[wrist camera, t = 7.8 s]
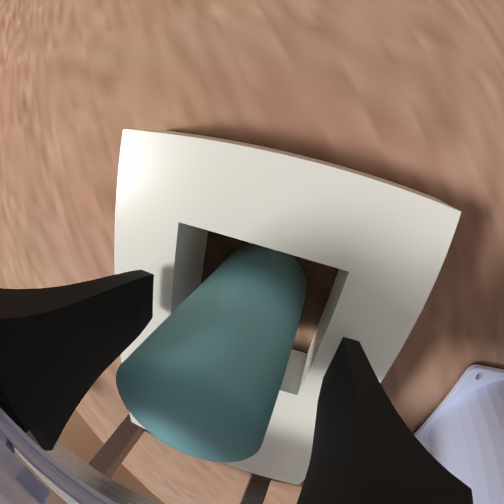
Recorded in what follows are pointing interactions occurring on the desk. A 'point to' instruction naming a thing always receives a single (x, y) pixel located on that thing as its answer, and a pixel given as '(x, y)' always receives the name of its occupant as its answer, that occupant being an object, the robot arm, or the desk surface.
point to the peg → (219, 358)
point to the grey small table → (110, 460)
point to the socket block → (284, 240)
